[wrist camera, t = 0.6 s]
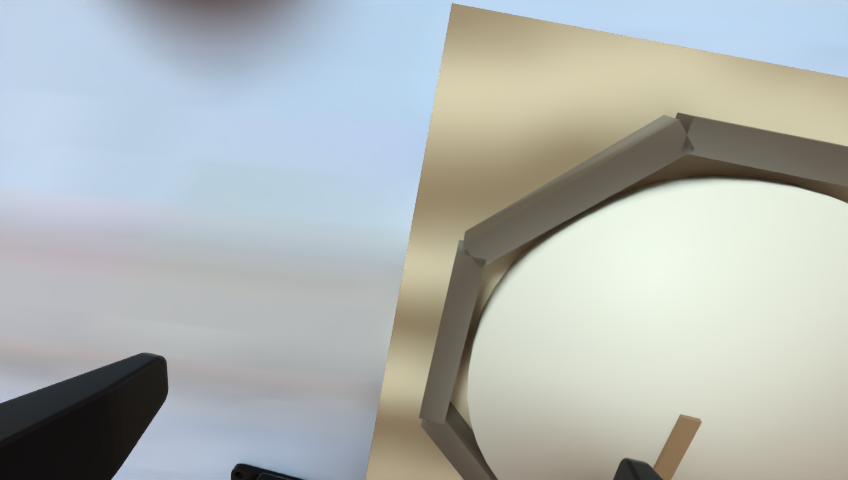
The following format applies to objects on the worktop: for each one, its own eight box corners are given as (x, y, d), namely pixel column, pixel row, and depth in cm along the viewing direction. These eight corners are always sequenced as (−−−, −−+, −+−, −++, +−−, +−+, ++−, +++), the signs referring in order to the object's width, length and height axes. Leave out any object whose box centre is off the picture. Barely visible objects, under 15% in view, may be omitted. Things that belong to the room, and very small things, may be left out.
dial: (527, 128, 17) (535, 144, 14) (1050, 235, 16) (1194, 280, 13) (435, 478, 24) (426, 544, 21) (794, 571, 23) (845, 656, 20)
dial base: (813, 601, 26) (851, 666, 23) (366, 484, 27) (352, 531, 25) (1185, 146, 16) (1330, 163, 13) (455, 7, 18) (447, -3, 15)
